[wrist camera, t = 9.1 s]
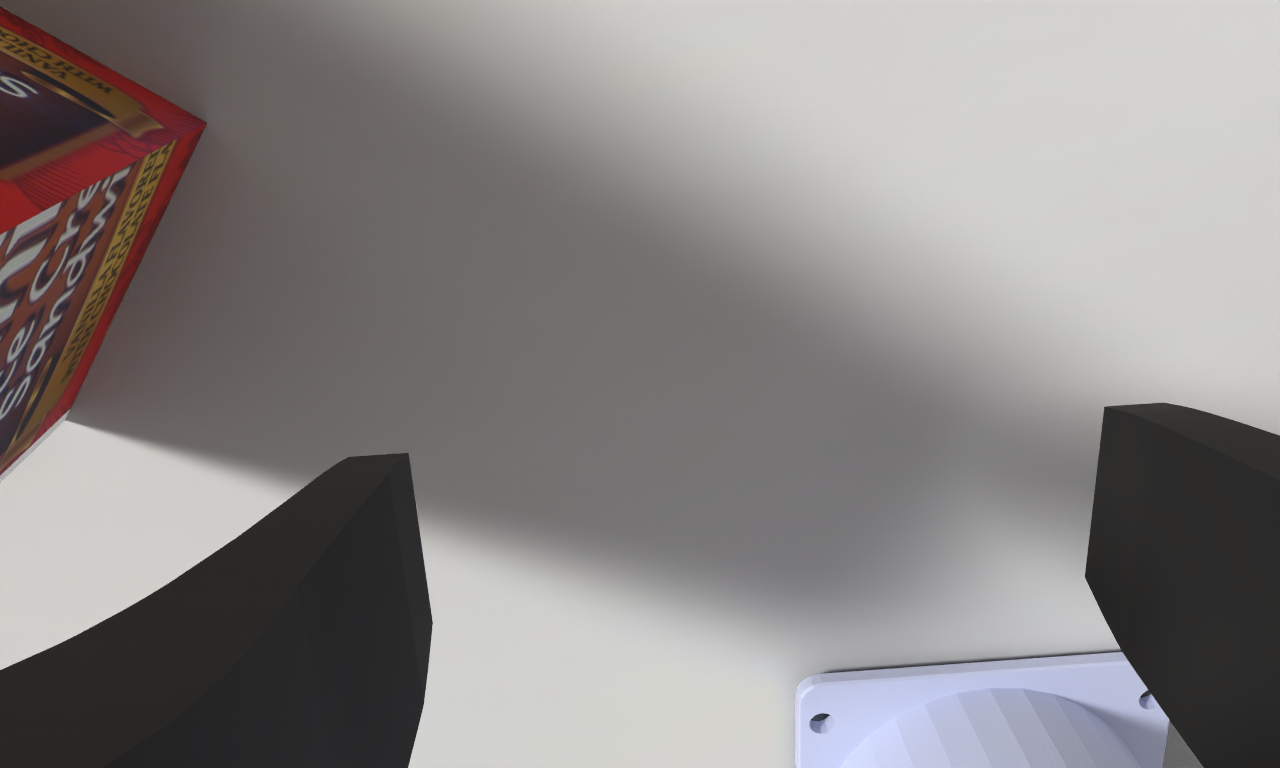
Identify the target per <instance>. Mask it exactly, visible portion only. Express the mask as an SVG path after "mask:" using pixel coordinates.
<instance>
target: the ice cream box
mask: <svg viewBox="0 0 1280 768" xmlns="http://www.w3.org/2000/svg"><path fill="white" fill-rule="evenodd" d="M206 124H207V123H206V122H205V121H203V120H201V119H199V118H198V117H196V116H194V115H192V114H190V113H189V112H187V111H185V110H183V109H181V108H180V107H178V106H176V105H174V104H173V103H171V102H169V101H167V100H165V99H164V98H162V97H160V96H158V95H157V94H155V93H153V92H151V91H149V90H148V89H146V88H144V87H142V86H141V85H139V84H137V83H135V82H133V81H132V80H130V79H128V78H126V77H124V76H123V75H121V74H119V73H117V72H116V71H114V70H112V69H110V68H108V67H107V66H105V65H103V64H101V63H100V62H98V61H96V60H94V59H92V58H91V57H89V56H87V55H85V54H84V53H82V52H80V51H78V50H76V49H75V48H73V47H71V46H69V45H67V44H66V43H64V42H62V41H60V40H59V39H57V38H55V37H53V36H51V35H50V34H48V33H46V32H44V31H43V30H41V29H39V28H37V27H35V26H34V25H32V24H30V23H28V22H27V21H25V20H23V19H21V18H19V17H18V16H16V15H14V14H12V13H10V12H9V11H7V10H5V9H3V8H2V7H0V483H1V482H2V481H3V480H4V479H5V478H6V477H7V476H8V475H9V474H10V473H11V472H12V471H13V470H14V469H15V468H16V467H17V466H18V465H19V464H20V463H21V462H22V461H23V460H24V459H25V458H26V457H28V456H29V455H30V454H31V453H32V452H33V451H34V450H35V449H36V448H37V447H38V446H39V445H40V444H41V443H42V442H43V441H44V440H45V439H46V438H47V437H48V436H49V435H50V434H51V433H52V432H53V431H54V430H55V429H56V428H57V427H59V426H60V425H61V424H62V423H63V422H64V421H65V419H66V417H67V415H68V413H69V411H70V409H71V407H72V404H73V402H74V400H75V398H76V396H77V394H78V392H79V390H80V388H81V386H82V383H83V381H84V379H85V377H86V375H87V373H88V371H89V369H90V367H91V365H92V363H93V360H94V358H95V356H96V354H97V352H98V350H99V348H100V346H101V344H102V342H103V340H104V337H105V335H106V333H107V331H108V329H109V327H110V325H111V323H112V321H113V319H114V316H115V314H116V312H117V310H118V308H119V306H120V304H121V302H122V300H123V298H124V296H125V293H126V291H127V289H128V287H129V285H130V283H131V281H132V279H133V277H134V275H135V273H136V270H137V268H138V266H139V264H140V262H141V260H142V258H143V256H144V254H145V252H146V249H147V247H148V245H149V243H150V241H151V239H152V237H153V235H154V233H155V231H156V229H157V226H158V224H159V222H160V220H161V218H162V216H163V214H164V212H165V210H166V208H167V206H168V203H169V201H170V199H171V197H172V195H173V193H174V191H175V189H176V187H177V185H178V182H179V180H180V178H181V176H182V174H183V172H184V170H185V168H186V166H187V164H188V162H189V159H190V157H191V155H192V153H193V151H194V149H195V147H196V145H197V143H198V141H199V139H200V136H201V134H202V132H203V130H204V128H205V126H206Z"/></svg>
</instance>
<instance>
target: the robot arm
mask: <svg viewBox="0 0 1280 768" xmlns="http://www.w3.org/2000/svg"><path fill="white" fill-rule="evenodd" d="M1085 578H1086V580H1087V582H1088V584H1089V587H1090V589H1091V591H1092V593H1093V595H1094V597H1095V599H1096V601H1097V603H1098V605H1099V607H1100V610H1101V612H1102V614H1103V616H1104V618H1105V620H1106V622H1107V624H1108V626H1109V628H1110V629H1111V631H1112V633H1113V635H1114V637H1115V639H1116V641H1117V643H1118V645H1119V646H1120V648H1121V650H1122V652H1115V653H1101V654H1087V655H1073V656H1059V657H1045V658H1032V659H1018V660H1004V661H990V662H976V663H962V664H949V665H935V666H921V667H907V668H893V669H879V670H866V671H852V672H838V673H824V674H816V675H812V676H809V677H808V678H806V679H804V680H803V681H802V682H801V683H800V685H799V686H798V687H797V690H796V695H795V768H1162V767H1163V761H1164V754H1165V748H1166V742H1167V735H1168V729H1169V723H1170V721H1171V723H1172V724H1173V725H1174V727H1175V728H1176V729H1177V731H1178V732H1179V734H1180V735H1181V736H1182V738H1183V739H1184V741H1185V742H1186V743H1187V745H1188V746H1189V747H1190V749H1191V750H1192V752H1193V753H1194V754H1195V756H1196V757H1197V759H1198V760H1199V761H1200V763H1201V764H1202V765H1203V767H1204V768H1280V436H1279V435H1276V434H1273V433H1270V432H1267V431H1264V430H1261V429H1258V428H1255V427H1252V426H1249V425H1246V424H1243V423H1240V422H1237V421H1234V420H1231V419H1227V418H1224V417H1221V416H1217V415H1214V414H1211V413H1207V412H1204V411H1200V410H1196V409H1192V408H1188V407H1184V406H1179V405H1173V404H1167V403H1152V404H1137V405H1122V406H1107V407H1104V416H1103V425H1102V433H1101V442H1100V451H1099V459H1098V468H1097V477H1096V485H1095V494H1094V503H1093V511H1092V520H1091V529H1090V537H1089V546H1088V555H1087V563H1086V572H1085ZM432 624H433V622H432V615H431V608H430V601H429V594H428V587H427V580H426V573H425V566H424V559H423V552H422V545H421V538H420V531H419V524H418V517H417V510H416V503H415V496H414V489H413V482H412V475H411V468H410V461H409V454H408V453H402V454H387V455H372V456H357V457H348V458H346V459H344V460H343V461H341V462H339V463H337V464H336V465H334V466H333V467H331V468H330V469H328V470H327V471H326V472H324V473H323V474H321V475H320V476H319V477H317V478H316V479H315V480H313V481H312V482H311V483H309V484H308V485H307V486H305V487H304V488H303V489H301V490H300V491H299V492H297V493H296V494H295V495H293V496H292V497H291V498H290V499H288V500H287V501H286V502H284V503H283V504H282V505H280V506H279V507H277V508H276V509H275V510H273V511H272V512H271V513H269V514H268V515H267V516H265V517H264V518H263V519H261V520H260V521H259V522H257V523H256V524H255V525H253V526H252V527H251V528H249V529H248V530H247V531H245V532H244V533H243V534H241V535H240V536H238V537H237V538H236V539H234V540H233V541H231V542H230V543H228V544H227V545H225V546H224V547H222V548H221V549H219V550H218V551H216V552H215V553H213V554H212V555H210V556H209V557H207V558H206V559H204V560H203V561H201V562H200V563H198V564H197V565H195V566H194V567H192V568H191V569H189V570H188V571H186V572H185V573H183V574H182V575H181V576H179V577H178V578H176V579H175V580H173V581H172V582H170V583H169V584H167V585H165V586H164V587H162V588H160V589H159V590H157V591H156V592H154V593H152V594H151V595H149V596H147V597H146V598H144V599H142V600H140V601H139V602H137V603H135V604H133V605H132V606H130V607H128V608H127V609H125V610H123V611H121V612H119V613H117V614H116V615H114V616H112V617H110V618H108V619H106V620H104V621H102V622H101V623H99V624H97V625H95V626H93V627H91V628H89V629H88V630H86V631H84V632H82V633H80V634H78V635H76V636H74V637H72V638H70V639H68V640H66V641H64V642H62V643H60V644H58V645H56V646H54V647H51V648H49V649H47V650H45V651H42V652H40V653H38V654H36V655H33V656H31V657H29V658H27V659H25V660H22V661H20V662H18V663H16V664H13V665H11V666H9V667H7V668H4V669H2V670H0V768H408V765H409V761H410V757H411V753H412V749H413V746H414V742H415V738H416V734H417V730H418V726H419V722H420V717H421V713H422V709H423V705H424V698H425V689H426V681H427V673H428V664H429V654H430V644H431V634H432ZM1147 690H1149V692H1150V693H1151V694H1150V695H1148V696H1146V697H1142V698H1140V697H1141V695H1142V694H1143V693H1144V692H1146V691H1147ZM821 713H825V714H829V716H828V717H827V718H826V719H825V720H822V721H812V720H811V719H812V718H813V717H814V716H815V715H817V714H821Z"/></svg>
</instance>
